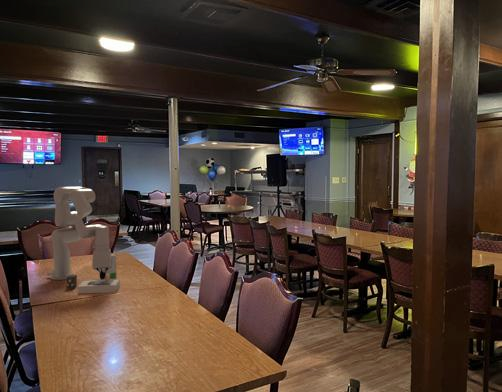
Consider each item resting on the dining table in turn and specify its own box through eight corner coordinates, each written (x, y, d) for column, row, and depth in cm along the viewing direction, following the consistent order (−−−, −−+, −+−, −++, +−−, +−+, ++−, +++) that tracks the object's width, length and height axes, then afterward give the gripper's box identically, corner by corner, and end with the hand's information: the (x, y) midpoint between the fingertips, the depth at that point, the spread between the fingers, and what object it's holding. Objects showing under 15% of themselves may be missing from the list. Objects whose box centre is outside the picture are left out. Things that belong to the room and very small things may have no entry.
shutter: (93, 284, 216) (93, 277, 216) (97, 280, 225) (97, 273, 225) (110, 284, 217) (110, 277, 217) (113, 279, 227) (113, 273, 226)
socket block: (78, 293, 214) (78, 286, 214) (84, 287, 226) (84, 280, 225) (115, 292, 217) (115, 285, 217) (119, 286, 229) (119, 279, 228)
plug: (66, 289, 221) (65, 277, 221) (69, 286, 227) (69, 275, 227) (73, 289, 221) (73, 277, 221) (76, 286, 228) (76, 274, 227)
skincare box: (105, 281, 239) (104, 256, 238) (99, 279, 243) (99, 255, 242) (117, 278, 245) (116, 254, 244) (111, 277, 249) (110, 253, 248)
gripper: (86, 248, 215) (87, 281, 216) (114, 248, 217) (114, 280, 218) (90, 246, 223) (90, 277, 224) (117, 245, 225) (117, 276, 226)
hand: (102, 278), depth 221 cm, fingers closed
